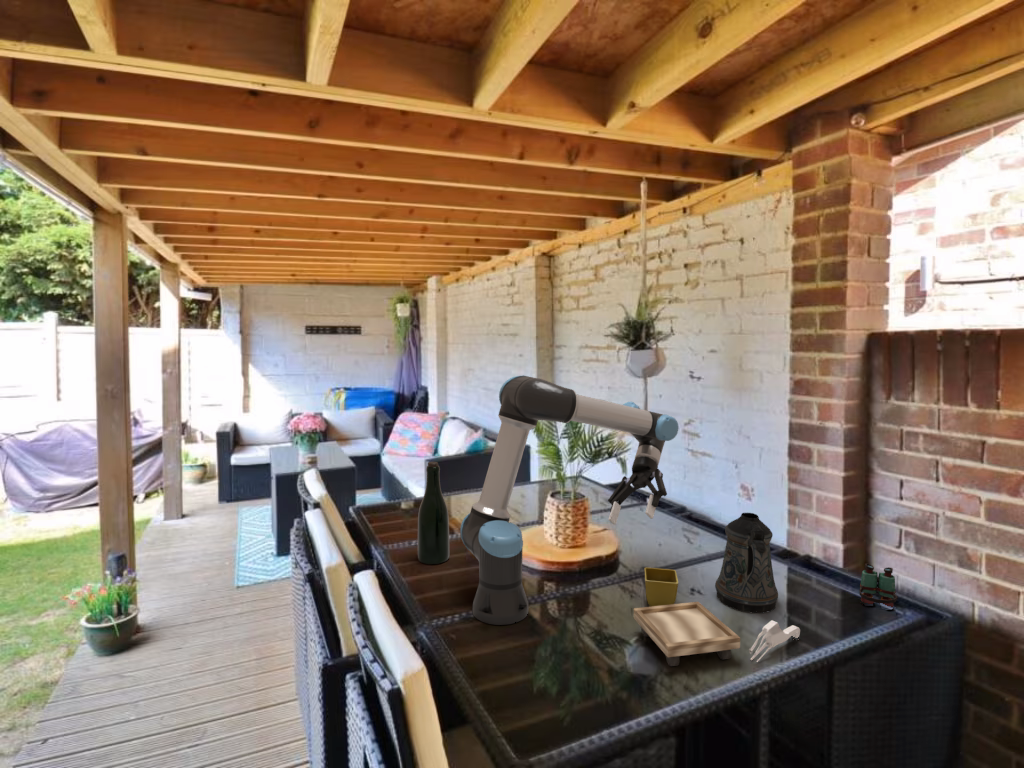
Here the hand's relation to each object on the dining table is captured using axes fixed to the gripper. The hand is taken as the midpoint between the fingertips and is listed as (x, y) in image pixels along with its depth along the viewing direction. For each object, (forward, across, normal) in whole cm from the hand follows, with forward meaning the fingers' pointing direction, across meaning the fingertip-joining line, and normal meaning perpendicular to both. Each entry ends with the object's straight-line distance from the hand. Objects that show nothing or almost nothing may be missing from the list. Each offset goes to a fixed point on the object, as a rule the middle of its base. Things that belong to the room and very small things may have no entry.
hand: (630, 519), depth 163 cm
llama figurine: (+25, -31, -26) cm, 48 cm away
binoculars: (-6, -41, -59) cm, 72 cm away
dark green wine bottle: (+20, +63, +19) cm, 68 cm away
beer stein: (+6, -18, -36) cm, 40 cm away
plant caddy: (+31, -17, -12) cm, 37 cm away
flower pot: (+17, -3, -17) cm, 25 cm away
